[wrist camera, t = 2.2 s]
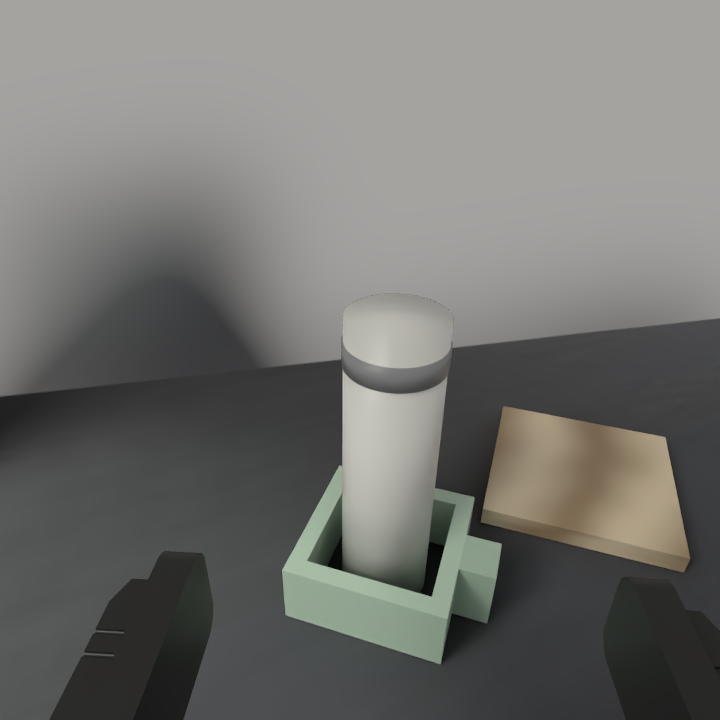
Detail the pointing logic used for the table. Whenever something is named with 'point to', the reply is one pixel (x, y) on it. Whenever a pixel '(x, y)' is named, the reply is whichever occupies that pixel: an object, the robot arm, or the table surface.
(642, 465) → the oak pad
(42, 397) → the table surface
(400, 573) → the thermos bottle
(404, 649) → the collar
